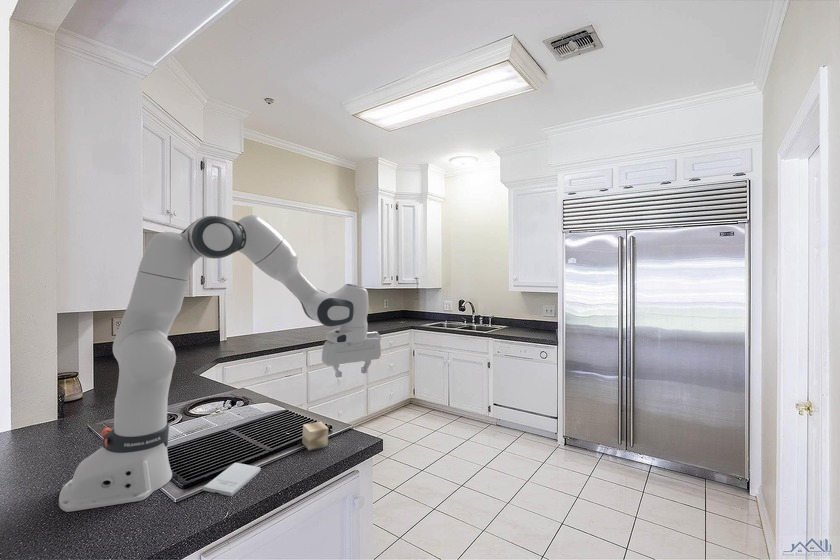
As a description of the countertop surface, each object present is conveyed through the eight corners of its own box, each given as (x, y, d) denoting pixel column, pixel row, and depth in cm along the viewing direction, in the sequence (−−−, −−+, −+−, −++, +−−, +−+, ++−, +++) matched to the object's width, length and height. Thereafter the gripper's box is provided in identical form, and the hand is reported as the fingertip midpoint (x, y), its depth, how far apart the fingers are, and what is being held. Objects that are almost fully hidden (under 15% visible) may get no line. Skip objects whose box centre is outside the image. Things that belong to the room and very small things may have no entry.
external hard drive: (260, 473, 114) (231, 498, 102) (234, 467, 115) (202, 492, 103) (260, 467, 114) (231, 492, 101) (234, 462, 115) (202, 486, 103)
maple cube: (309, 451, 127) (310, 432, 126) (302, 442, 132) (303, 424, 131) (327, 446, 130) (328, 428, 130) (319, 439, 135) (321, 421, 135)
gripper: (375, 329, 144) (373, 368, 145) (320, 334, 131) (318, 376, 133) (385, 333, 139) (383, 373, 140) (329, 338, 126) (327, 382, 128)
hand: (351, 374), depth 136 cm, fingers open, 8 cm apart
